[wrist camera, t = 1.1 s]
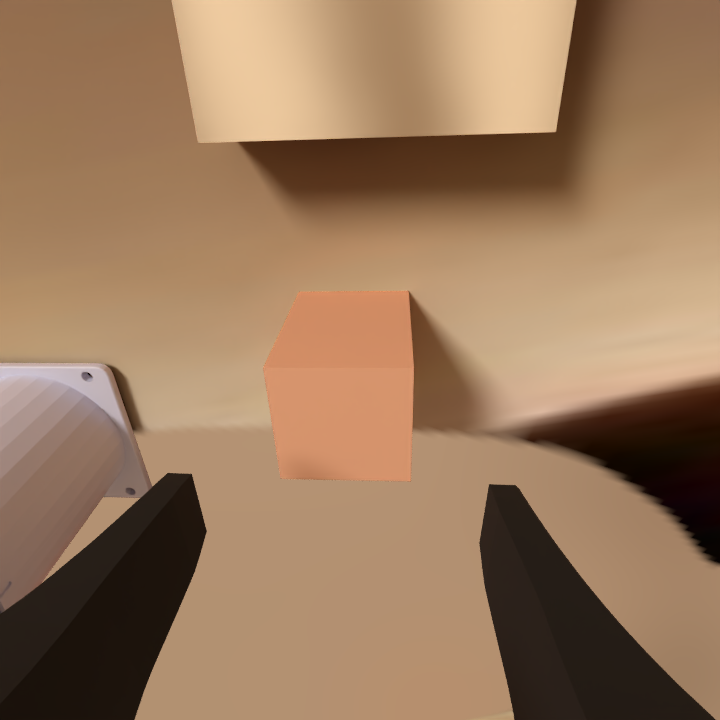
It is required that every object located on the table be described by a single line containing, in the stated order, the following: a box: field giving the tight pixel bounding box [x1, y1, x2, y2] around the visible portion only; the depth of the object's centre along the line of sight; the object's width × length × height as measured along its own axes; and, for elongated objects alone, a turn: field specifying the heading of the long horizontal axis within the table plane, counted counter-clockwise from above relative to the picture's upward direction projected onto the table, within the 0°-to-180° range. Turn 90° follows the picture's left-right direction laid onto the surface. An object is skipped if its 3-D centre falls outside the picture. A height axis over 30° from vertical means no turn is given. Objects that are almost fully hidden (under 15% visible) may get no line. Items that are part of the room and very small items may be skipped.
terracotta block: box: [263, 291, 414, 482], centre depth 17 cm, size 4×4×6 cm
